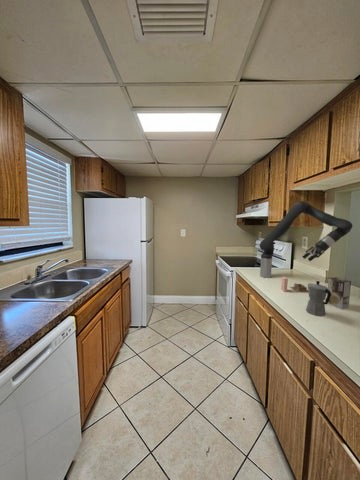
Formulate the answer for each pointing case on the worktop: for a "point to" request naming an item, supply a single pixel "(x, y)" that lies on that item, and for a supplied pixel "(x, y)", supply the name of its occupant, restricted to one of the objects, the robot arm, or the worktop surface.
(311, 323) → the worktop surface
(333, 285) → the coffee box
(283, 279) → the salmon pink brick
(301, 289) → the holder
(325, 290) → the coffeepot
